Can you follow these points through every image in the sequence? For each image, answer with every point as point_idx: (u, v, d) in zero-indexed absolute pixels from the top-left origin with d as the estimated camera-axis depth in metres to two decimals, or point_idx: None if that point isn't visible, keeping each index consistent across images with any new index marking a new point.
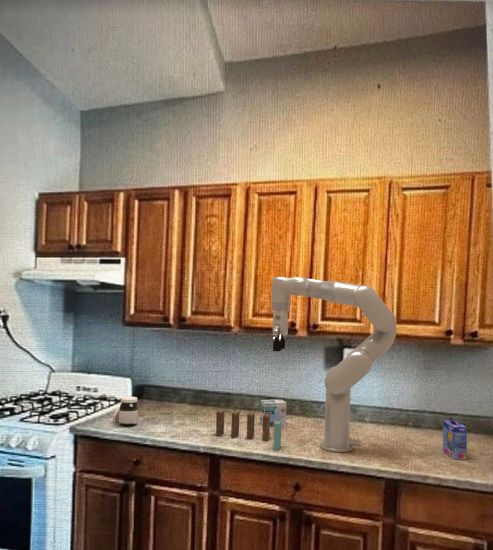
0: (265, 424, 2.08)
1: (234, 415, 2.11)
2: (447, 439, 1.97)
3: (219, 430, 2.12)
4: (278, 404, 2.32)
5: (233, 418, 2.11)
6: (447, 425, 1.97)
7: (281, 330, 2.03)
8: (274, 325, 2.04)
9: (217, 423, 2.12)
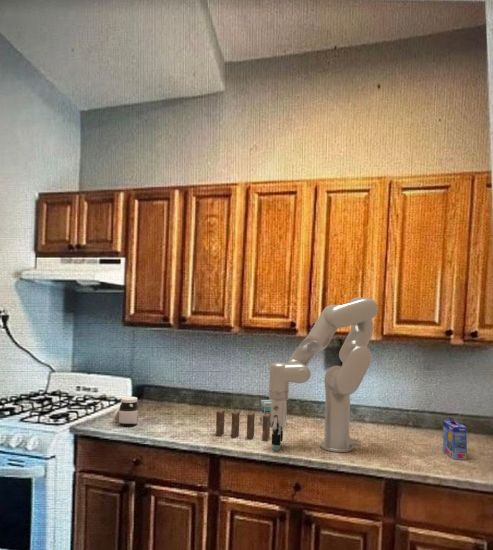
0: (265, 424, 2.08)
1: (234, 415, 2.11)
2: (447, 439, 1.97)
3: (219, 430, 2.12)
4: None
5: (233, 418, 2.11)
6: (447, 425, 1.97)
7: (279, 421, 1.93)
8: (272, 416, 1.94)
9: (217, 423, 2.12)
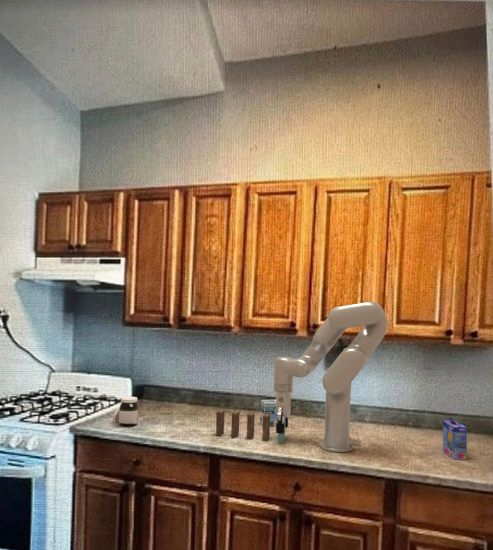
0: (265, 424, 2.08)
1: (234, 415, 2.11)
2: (447, 439, 1.97)
3: (219, 430, 2.12)
4: None
5: (233, 418, 2.11)
6: (447, 425, 1.97)
7: (284, 412, 2.04)
8: (277, 407, 2.05)
9: (217, 423, 2.12)
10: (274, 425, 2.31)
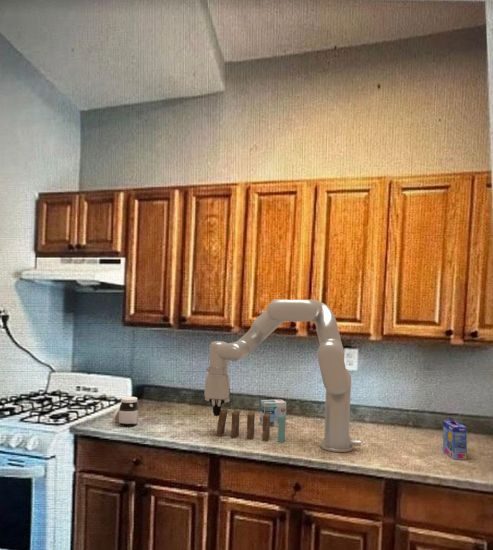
0: (265, 424, 2.08)
1: (234, 415, 2.11)
2: (447, 439, 1.97)
3: (220, 430, 2.12)
4: (278, 404, 2.32)
5: (233, 418, 2.11)
6: (447, 425, 1.97)
7: None
8: None
9: (219, 423, 2.12)
10: (274, 425, 2.31)
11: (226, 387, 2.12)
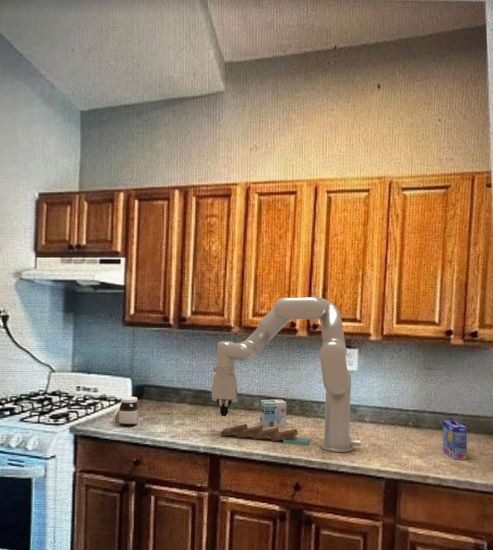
0: (286, 436, 2.05)
1: (258, 431, 2.08)
2: (447, 439, 1.97)
3: (227, 434, 2.11)
4: (278, 404, 2.32)
5: (254, 431, 2.09)
6: (447, 425, 1.97)
7: None
8: None
9: (233, 430, 2.11)
10: (274, 425, 2.31)
11: (233, 387, 2.12)
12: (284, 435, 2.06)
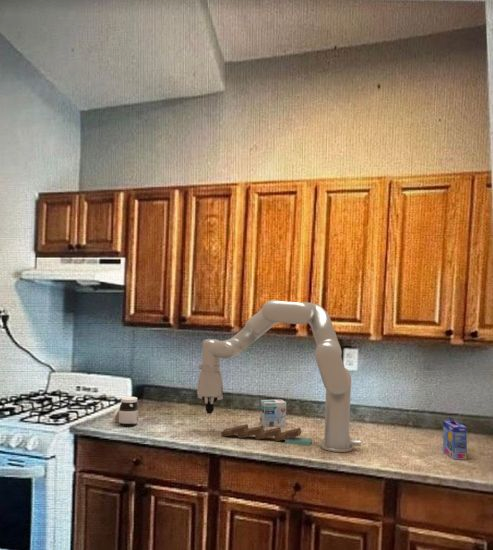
0: (290, 435, 2.06)
1: (259, 432, 2.08)
2: (447, 439, 1.97)
3: (228, 434, 2.11)
4: (278, 404, 2.32)
5: (256, 431, 2.09)
6: (447, 425, 1.97)
7: None
8: None
9: (233, 430, 2.10)
10: (274, 425, 2.31)
11: (219, 385, 2.13)
12: (288, 434, 2.06)
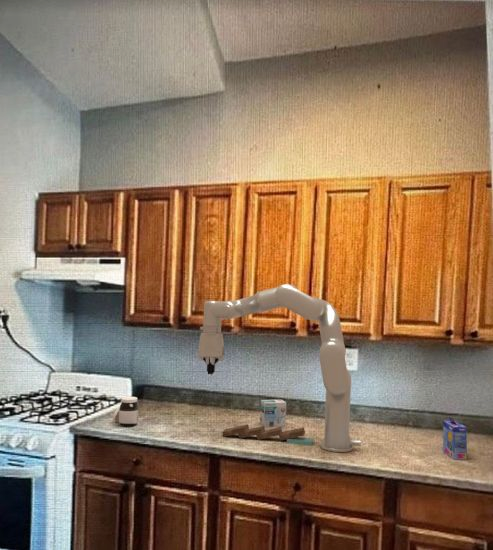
0: (295, 434, 2.06)
1: (260, 432, 2.08)
2: (447, 439, 1.97)
3: (228, 434, 2.11)
4: (278, 404, 2.32)
5: (256, 431, 2.09)
6: (447, 425, 1.97)
7: None
8: None
9: (234, 430, 2.10)
10: (274, 425, 2.31)
11: (220, 345, 2.14)
12: (293, 434, 2.06)
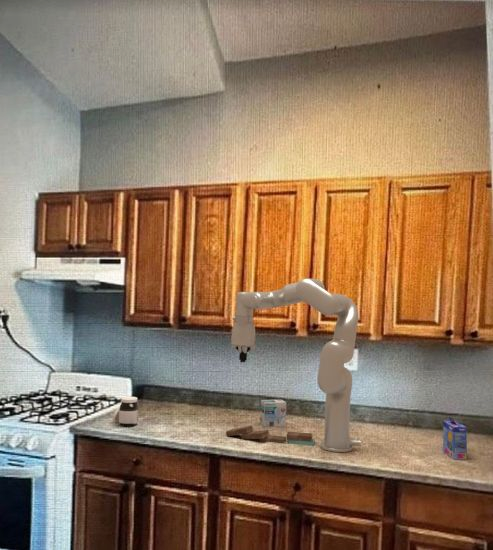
0: (303, 438, 2.05)
1: (260, 436, 2.05)
2: (447, 439, 1.97)
3: (231, 434, 2.11)
4: (278, 404, 2.32)
5: (257, 435, 2.05)
6: (447, 425, 1.97)
7: None
8: None
9: (236, 431, 2.10)
10: (274, 425, 2.31)
11: (252, 334, 2.23)
12: (301, 437, 2.05)
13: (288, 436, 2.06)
